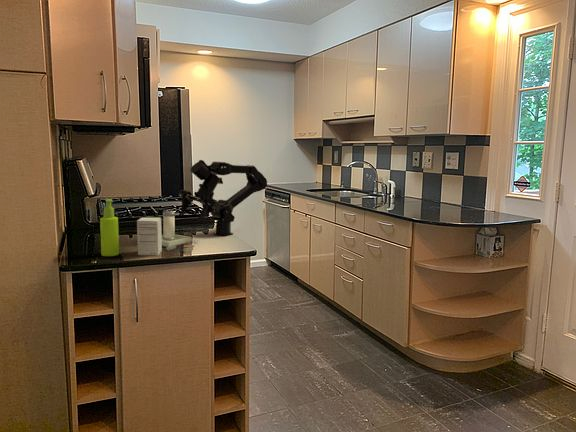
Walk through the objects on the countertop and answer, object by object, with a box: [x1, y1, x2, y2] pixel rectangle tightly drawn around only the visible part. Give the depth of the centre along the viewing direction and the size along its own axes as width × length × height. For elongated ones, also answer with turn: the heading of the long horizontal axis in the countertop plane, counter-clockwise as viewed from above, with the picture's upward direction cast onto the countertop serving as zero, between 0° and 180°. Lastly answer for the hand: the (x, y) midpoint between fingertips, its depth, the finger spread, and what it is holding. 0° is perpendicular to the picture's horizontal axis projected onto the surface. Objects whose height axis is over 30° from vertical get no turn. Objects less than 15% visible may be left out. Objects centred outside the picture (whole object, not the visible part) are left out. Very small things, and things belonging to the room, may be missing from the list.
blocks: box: [166, 244, 196, 253], centre depth 172 cm, size 10×8×1 cm
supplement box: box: [136, 217, 163, 256], centre depth 163 cm, size 7×7×13 cm
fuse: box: [162, 210, 176, 241], centre depth 181 cm, size 5×5×12 cm
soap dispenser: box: [99, 198, 120, 257], centre depth 158 cm, size 6×7×20 cm
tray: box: [161, 233, 193, 248], centre depth 182 cm, size 13×13×2 cm
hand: (190, 217), depth 187 cm, fingers open, 9 cm apart
